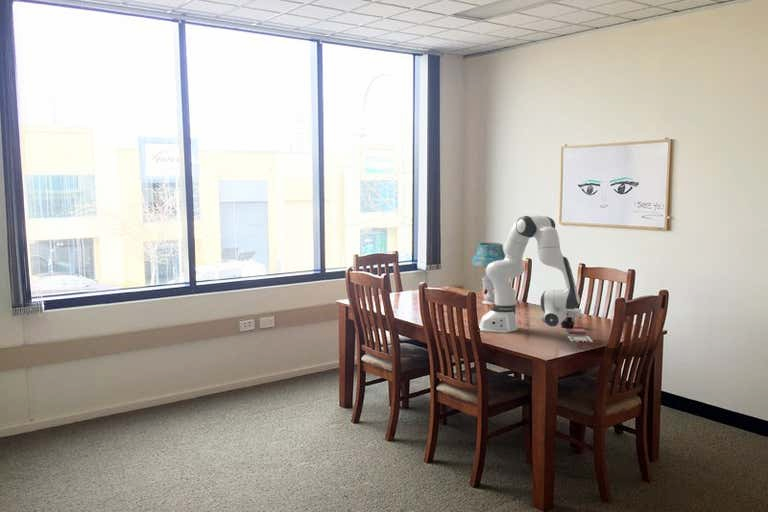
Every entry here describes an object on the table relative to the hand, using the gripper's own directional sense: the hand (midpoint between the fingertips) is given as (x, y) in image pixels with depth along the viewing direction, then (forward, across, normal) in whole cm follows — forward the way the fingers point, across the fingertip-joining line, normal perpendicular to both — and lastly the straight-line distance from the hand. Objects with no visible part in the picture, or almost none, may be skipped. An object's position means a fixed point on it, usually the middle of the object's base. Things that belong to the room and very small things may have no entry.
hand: (563, 308), depth 339 cm
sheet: (-6, -10, +14) cm, 18 cm away
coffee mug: (+18, 0, +15) cm, 23 cm away
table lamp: (+62, +60, +16) cm, 88 cm away
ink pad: (+7, -6, +14) cm, 17 cm away
